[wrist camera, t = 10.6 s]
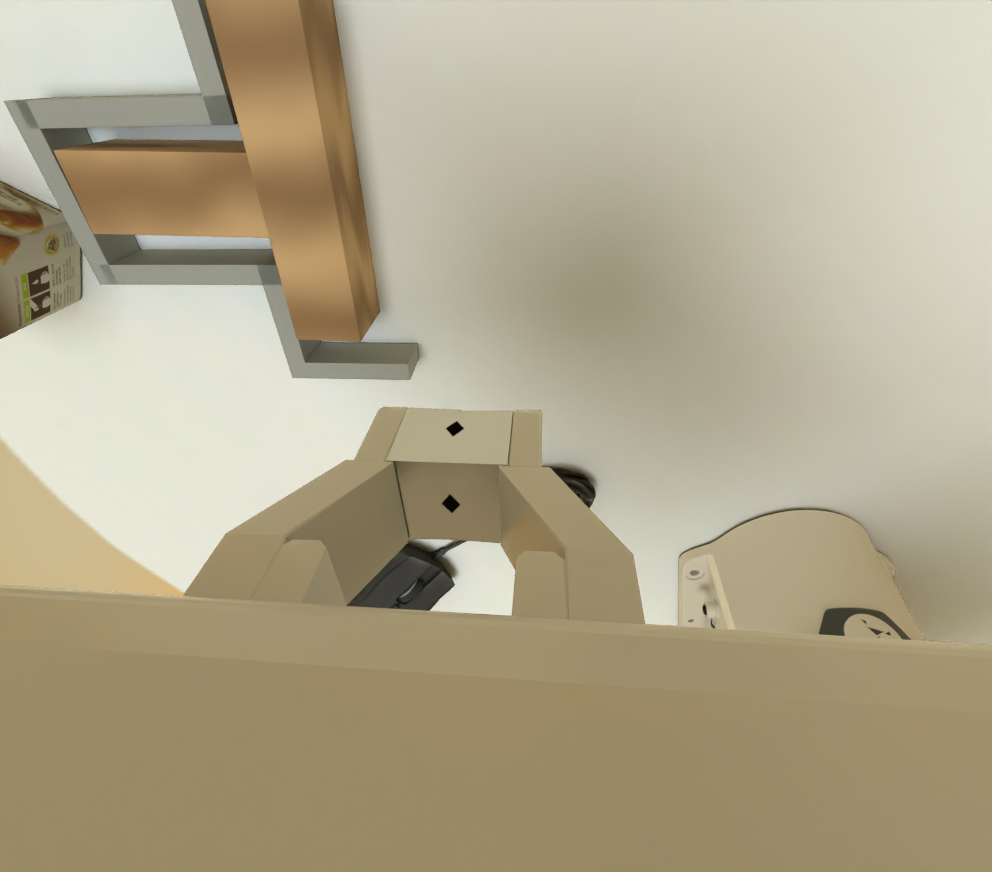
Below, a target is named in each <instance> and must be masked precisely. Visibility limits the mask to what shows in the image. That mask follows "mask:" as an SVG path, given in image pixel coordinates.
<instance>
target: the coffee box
mask: <svg viewBox="0 0 992 872" xmlns="http://www.w3.org/2000/svg"><path fill="white" fill-rule="evenodd" d="M80 298H81V272H80V245H79V243H78V241H77V239H76V238H75V236H74V234H73V232H72V230H71V228H70V226H69V224H68V222H67V220H66V219H65V217H64V215H63V213H62V212H60V211H58V210H56V209H54V208H52V207H50V206H48V205H46V204H44V203H42V202H40V201H38V200H36V199H34V198H32V197H30V196H28V195H26V194H24V193H22V192H20V191H18V190H16V189H14V188H12V187H10V186H8V185H6V184H4V183H2V182H0V339H1V338H3V337H6V336H8V335H10V334H11V333H14V332H16V331H17V330H19V329H21V328H24V327H26V326H28V325H30V324H32V323H34V322H36V321H38V320H40V319H42V318H44V317H46V316H48V315H50V314H52V313H54V312H56V311H58V310H60V309H62V308H64V307H66V306H68V305H70V304H72V303H75V302H77V301H79V300H80Z"/></svg>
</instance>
